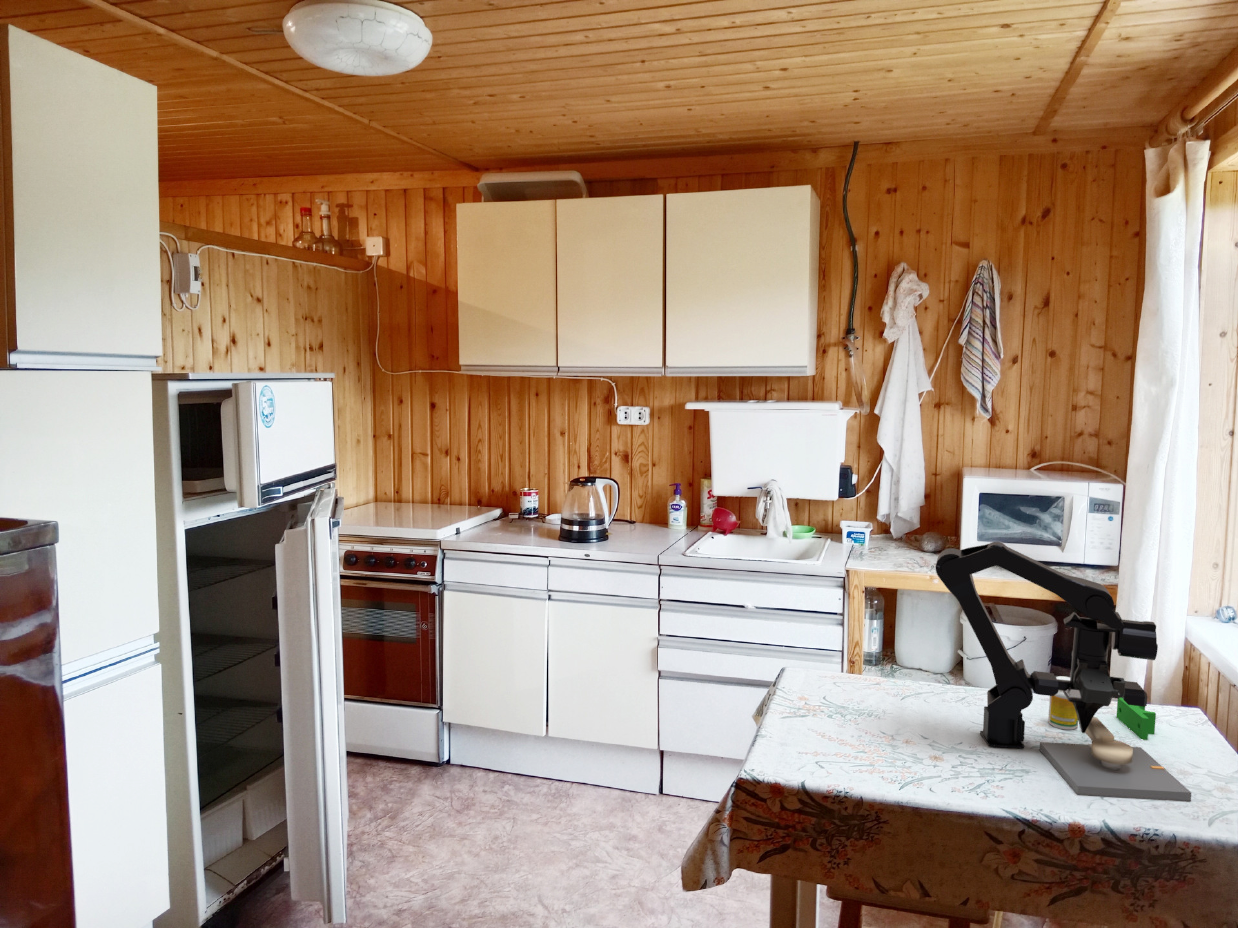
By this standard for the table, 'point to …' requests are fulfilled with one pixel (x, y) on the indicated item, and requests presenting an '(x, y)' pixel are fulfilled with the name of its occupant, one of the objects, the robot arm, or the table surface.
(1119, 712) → the pipe clamp
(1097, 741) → the beige long-handled part
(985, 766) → the table surface
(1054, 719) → the supplement bottle
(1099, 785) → the thin gray panel
